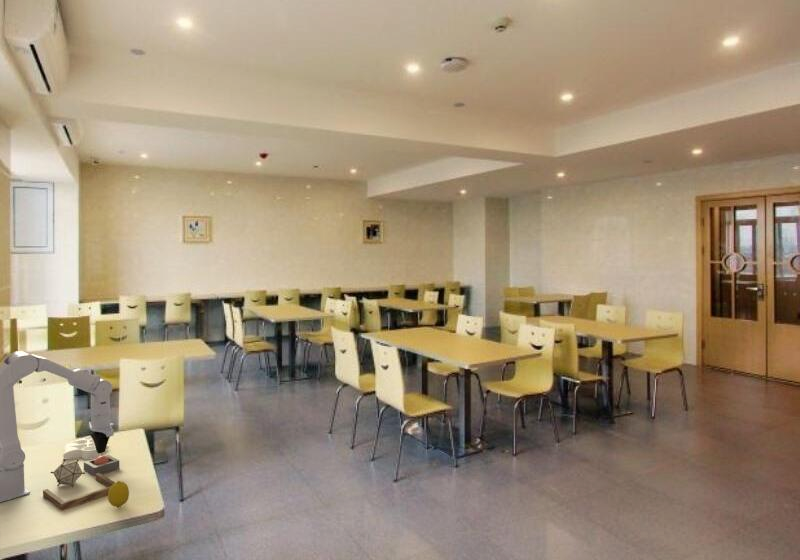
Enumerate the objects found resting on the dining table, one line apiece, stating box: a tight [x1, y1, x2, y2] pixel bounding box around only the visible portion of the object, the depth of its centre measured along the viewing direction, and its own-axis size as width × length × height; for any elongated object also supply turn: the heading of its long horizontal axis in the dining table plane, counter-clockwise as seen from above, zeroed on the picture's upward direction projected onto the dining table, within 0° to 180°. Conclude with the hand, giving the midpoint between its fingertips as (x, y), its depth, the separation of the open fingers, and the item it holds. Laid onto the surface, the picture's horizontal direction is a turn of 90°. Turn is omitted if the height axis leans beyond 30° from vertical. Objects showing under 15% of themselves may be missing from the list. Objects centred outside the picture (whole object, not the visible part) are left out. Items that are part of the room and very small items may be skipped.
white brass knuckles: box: [62, 435, 109, 460], centre depth 201 cm, size 3×18×15 cm
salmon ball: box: [94, 455, 109, 466], centre depth 184 cm, size 4×4×4 cm
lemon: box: [107, 480, 130, 509], centre depth 158 cm, size 6×6×8 cm
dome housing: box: [83, 454, 120, 477], centre depth 184 cm, size 8×8×3 cm
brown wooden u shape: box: [42, 473, 116, 511], centre depth 166 cm, size 16×14×2 cm
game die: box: [49, 458, 86, 488], centre depth 172 cm, size 9×8×10 cm
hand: (101, 452), depth 184 cm, fingers closed
